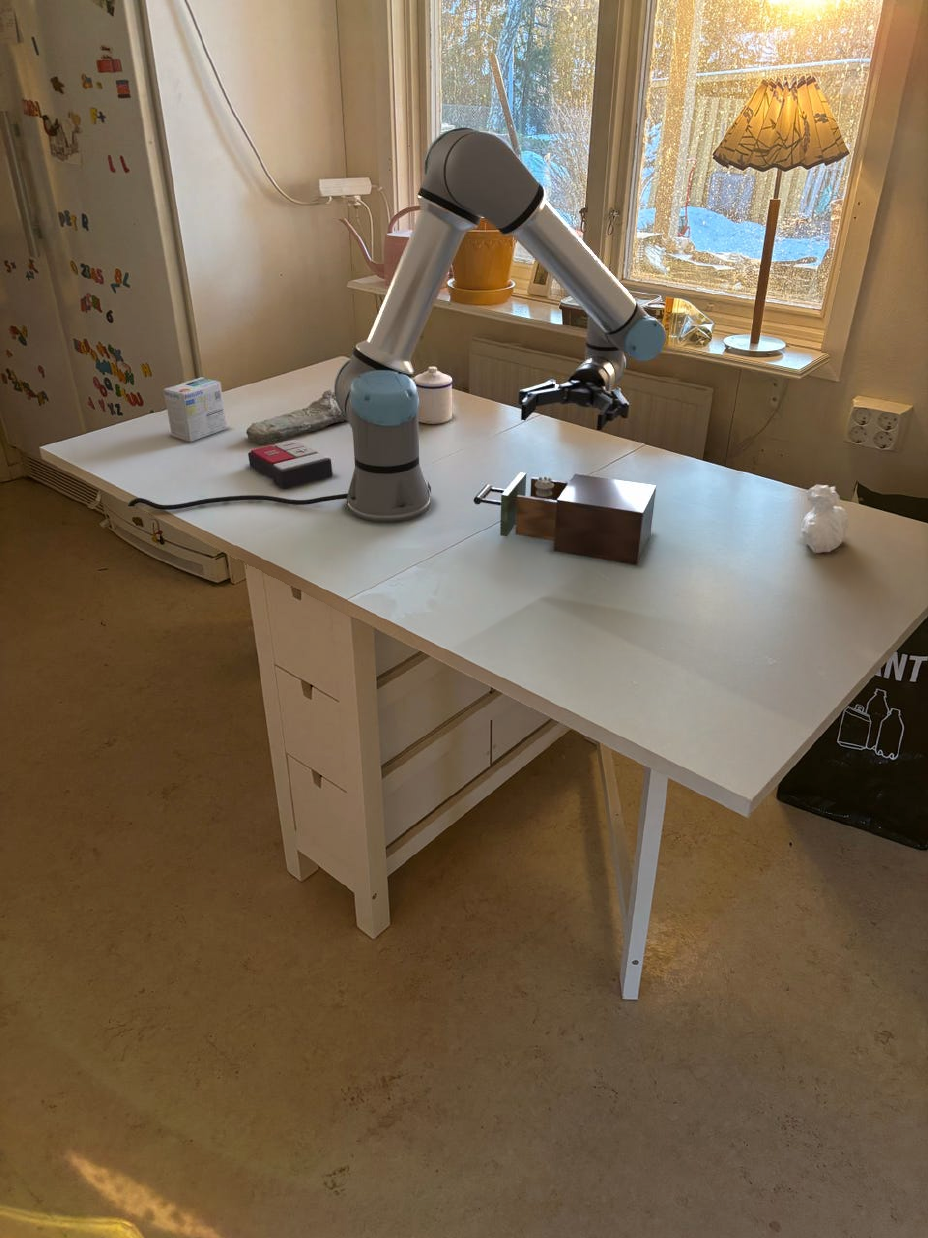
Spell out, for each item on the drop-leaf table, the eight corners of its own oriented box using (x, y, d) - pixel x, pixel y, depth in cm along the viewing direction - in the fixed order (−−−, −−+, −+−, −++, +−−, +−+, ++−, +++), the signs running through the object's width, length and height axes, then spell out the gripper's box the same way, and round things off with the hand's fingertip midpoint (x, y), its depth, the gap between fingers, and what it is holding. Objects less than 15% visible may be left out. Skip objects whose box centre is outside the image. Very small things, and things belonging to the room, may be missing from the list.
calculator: (295, 437, 187) (331, 455, 177) (298, 457, 189) (333, 476, 179) (246, 448, 182) (280, 468, 171) (249, 469, 184) (283, 489, 173)
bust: (832, 543, 159) (806, 485, 159) (871, 531, 153) (844, 470, 153) (797, 566, 152) (770, 505, 152) (837, 553, 146) (809, 490, 146)
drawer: (468, 530, 157) (468, 489, 153) (488, 506, 165) (489, 467, 161) (573, 548, 151) (576, 506, 147) (588, 522, 159) (592, 482, 155)
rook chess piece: (525, 525, 156) (527, 482, 152) (534, 515, 159) (536, 472, 155) (550, 530, 154) (553, 486, 150) (558, 519, 158) (561, 476, 154)
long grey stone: (237, 443, 198) (264, 457, 192) (233, 420, 195) (261, 434, 189) (359, 398, 218) (386, 410, 213) (357, 377, 215) (385, 388, 210)
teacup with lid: (461, 416, 209) (461, 366, 203) (435, 427, 203) (434, 375, 197) (421, 406, 216) (420, 357, 209) (395, 416, 209) (394, 365, 203)
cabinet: (553, 551, 152) (556, 499, 147) (571, 523, 161) (574, 473, 156) (637, 565, 148) (643, 512, 143) (650, 535, 157) (656, 485, 152)
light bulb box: (208, 423, 205) (201, 375, 200) (228, 429, 202) (221, 381, 196) (170, 436, 198) (161, 387, 192) (190, 443, 194) (182, 393, 189)
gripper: (653, 410, 171) (630, 447, 154) (527, 394, 179) (492, 428, 162) (658, 370, 167) (634, 404, 150) (529, 356, 175) (493, 387, 158)
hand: (560, 417), depth 156 cm, fingers open, 13 cm apart
